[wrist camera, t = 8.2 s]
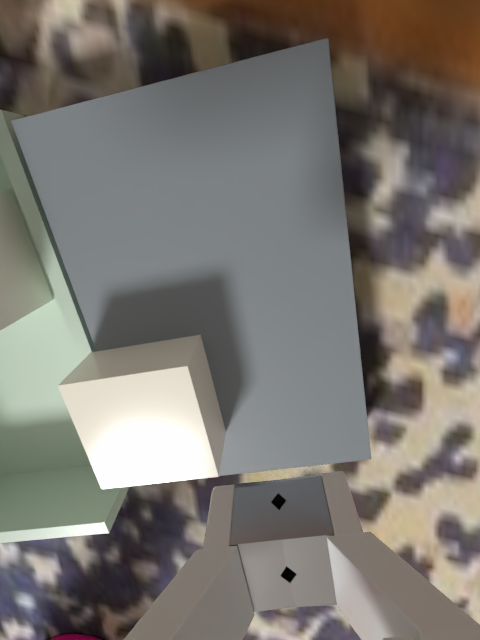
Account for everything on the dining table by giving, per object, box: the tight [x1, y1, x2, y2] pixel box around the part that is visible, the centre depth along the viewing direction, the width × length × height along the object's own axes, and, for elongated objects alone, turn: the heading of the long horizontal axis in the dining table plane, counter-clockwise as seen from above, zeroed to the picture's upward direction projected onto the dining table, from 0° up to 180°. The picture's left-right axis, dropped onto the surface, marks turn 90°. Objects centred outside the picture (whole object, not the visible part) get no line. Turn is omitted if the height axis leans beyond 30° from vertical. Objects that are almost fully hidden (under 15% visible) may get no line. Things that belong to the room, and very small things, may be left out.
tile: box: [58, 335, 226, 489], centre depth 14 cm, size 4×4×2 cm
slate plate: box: [11, 38, 371, 476], centre depth 15 cm, size 10×15×2 cm, turn 12°
